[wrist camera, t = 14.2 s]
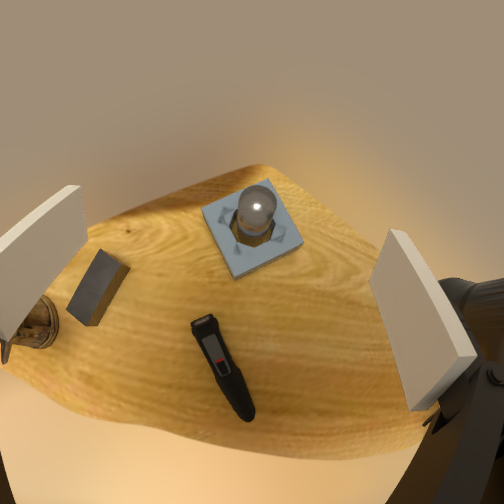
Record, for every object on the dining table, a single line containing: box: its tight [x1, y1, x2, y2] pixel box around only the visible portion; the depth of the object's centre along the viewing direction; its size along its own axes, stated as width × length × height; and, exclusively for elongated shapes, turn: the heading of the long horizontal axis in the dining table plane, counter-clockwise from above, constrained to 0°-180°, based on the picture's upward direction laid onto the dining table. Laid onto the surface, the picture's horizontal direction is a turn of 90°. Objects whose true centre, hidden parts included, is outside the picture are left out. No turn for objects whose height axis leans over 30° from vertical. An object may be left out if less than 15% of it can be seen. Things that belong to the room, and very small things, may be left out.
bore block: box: [201, 178, 304, 281], centre depth 41 cm, size 10×10×4 cm
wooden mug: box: [0, 295, 58, 365], centre depth 29 cm, size 9×14×18 cm, turn 76°
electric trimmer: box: [191, 314, 255, 422], centre depth 37 cm, size 4×16×3 cm, turn 24°
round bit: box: [237, 185, 277, 247], centre depth 37 cm, size 4×4×12 cm
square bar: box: [66, 249, 130, 326], centre depth 38 cm, size 10×4×4 cm, turn 150°
